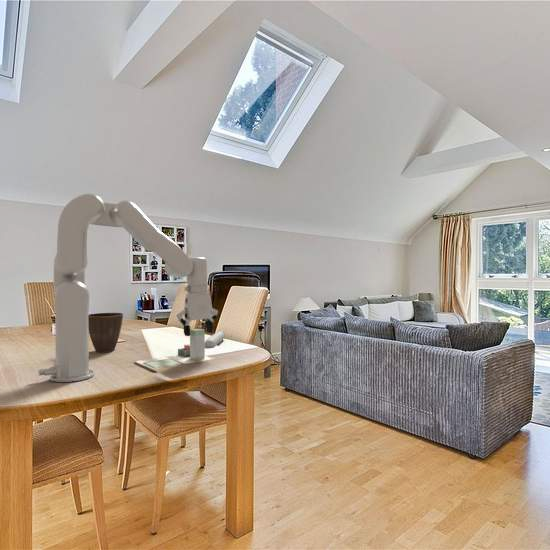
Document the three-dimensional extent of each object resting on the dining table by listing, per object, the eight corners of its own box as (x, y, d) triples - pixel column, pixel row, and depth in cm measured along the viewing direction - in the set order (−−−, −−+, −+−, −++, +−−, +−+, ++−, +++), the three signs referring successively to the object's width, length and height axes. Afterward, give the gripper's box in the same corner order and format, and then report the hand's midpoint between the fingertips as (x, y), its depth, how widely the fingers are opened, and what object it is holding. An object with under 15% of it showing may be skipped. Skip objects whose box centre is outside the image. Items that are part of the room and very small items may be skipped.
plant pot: (120, 353, 163) (120, 315, 163) (82, 355, 160) (81, 316, 160) (125, 347, 178) (125, 312, 178) (90, 348, 174) (90, 313, 174)
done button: (186, 352, 152) (186, 346, 152) (182, 351, 155) (182, 345, 155) (193, 351, 154) (193, 345, 154) (189, 350, 157) (189, 344, 157)
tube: (215, 341, 170) (226, 332, 195) (204, 337, 170) (216, 329, 195) (212, 353, 170) (223, 342, 195) (200, 349, 170) (213, 339, 195)
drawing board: (153, 372, 131) (153, 362, 131) (134, 364, 144) (133, 354, 144) (216, 361, 147) (216, 352, 147) (194, 354, 160) (193, 346, 160)
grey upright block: (195, 360, 145) (195, 330, 145) (190, 358, 148) (190, 329, 148) (204, 358, 148) (204, 329, 148) (199, 356, 151) (199, 328, 151)
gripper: (181, 291, 140) (182, 338, 140) (221, 288, 151) (223, 332, 151) (172, 290, 145) (173, 336, 146) (211, 288, 157) (212, 330, 157)
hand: (198, 334), depth 149 cm, fingers open, 9 cm apart
